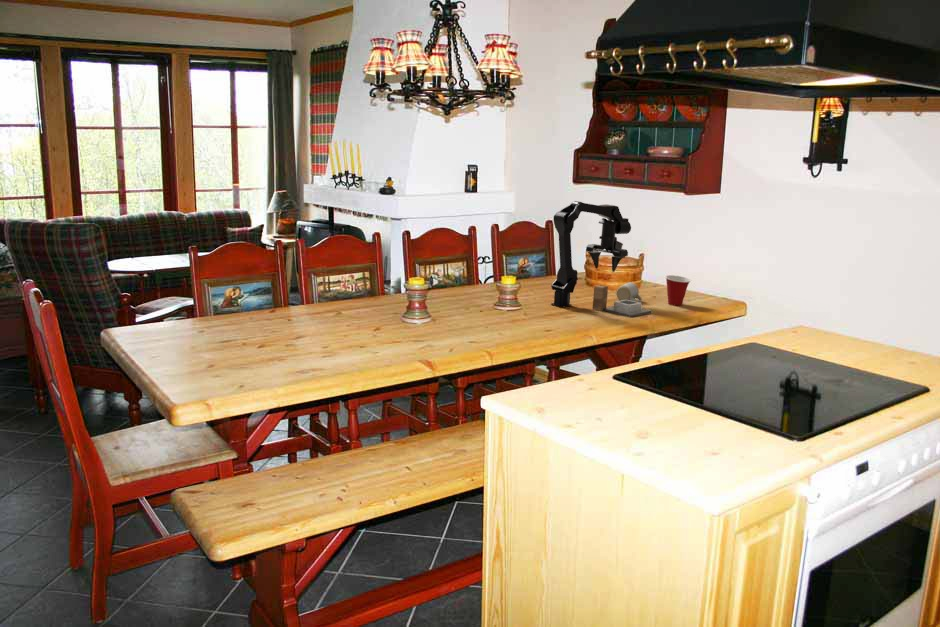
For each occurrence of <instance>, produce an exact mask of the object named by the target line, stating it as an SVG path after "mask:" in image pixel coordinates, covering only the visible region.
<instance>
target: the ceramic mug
mask: <svg viewBox="0 0 940 627" xmlns="http://www.w3.org/2000/svg"><path fill="white" fill-rule="evenodd" d="M639 293H640V291H639V288H638V286H637V285H636V284H635V283H634V282H630V281H629V282H626V283H625V284H623V285H620V286H619V287H618V288H617V290H616V293H615V294H616V298H617V299H618V301H621V300H626V299H627V300H631V301H635V302H639V303H642V300H643V299H642V297H641V296H640V295H639Z"/></svg>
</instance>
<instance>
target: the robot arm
mask: <svg viewBox="0 0 940 627" xmlns="http://www.w3.org/2000/svg"><path fill="white" fill-rule="evenodd" d="M582 212H583V213H589V214H595V215H597V216H600V217H602V218H601V219H600V220H599V221H598V224H601V225H602V226H601V227H602V228H601V235H600V236H599V237H598V238H599V239H600V244H598V243H597V244H595V243H592V244H587V245H586V247H585V248H586V249H585V252H588V254H589V255H590V258H591V259H592V262H593V266H594V268H595V269H598V268H599V262H600V255H601V253H607V254H612V255H613V256H611V271H612V273H614V272H616V269H617V268H618V266H619V263H620V262H621V260H622V259H625V257H628V256H629V251H628V250H627V249H625V248H623V246H624V244H623V243H622V242H621V241H618V238H617V236H616V235H624V234H625V235H627V234H629V233H631V231H632V225H631V223H630V222H629V218H626V217H623V215H622V213H621V212H620V208H619V206H618V205H613V204H593V203H585V202H582V201H577V200H574V201H572V202H570V203H569V205H567V206H565V207H563V208H561V209H560V210H559V211H557V212H556V213H555V214H554V215H553V220H552V221H553V223H554V224H553V225H554V229H555V230H556V231H557V235H558V248H559V249H558V250H559V269H558V270H557V273H556V278H555V280H554V281H553V282H552V283H551V290H552V291H554V294H553V295H554V299H553V303H550V305H552V306H555V307H558V308H567V307H572V306H573V304H571V303H570V302H571V294H573V293H574V290H575V288H576V285H577V284H578V280H579V278H578V270H576V269H574V267H573V262H572V259H573V257H572V238H571V237H572V236H571V234H572V231H573V229H574V227H575V226H574V224H575V221H576V220H578V219H579V216H580V214H581V213H582Z"/></svg>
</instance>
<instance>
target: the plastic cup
mask: <svg viewBox="0 0 940 627" xmlns="http://www.w3.org/2000/svg"><path fill="white" fill-rule="evenodd" d="M665 279H666V292H667V293H666V294H667V304H668V305H669V306H674V307H675V306H676V307H678V306H682V305H683V303H684V299H685V296H686V293H687V290H688V289H687V288H688V286H689V284H690V283H691V281H692V280H691V278H689V277H685V276H681V275H680V276H679V275H665Z"/></svg>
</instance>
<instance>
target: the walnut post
mask: <svg viewBox="0 0 940 627" xmlns="http://www.w3.org/2000/svg"><path fill="white" fill-rule="evenodd" d="M608 293H609V286H607V285H604V284H603V285H602V284H598V285H594V286H593V298H592V311H593V310H594V311H598V312H603V308H607V306H608V305H607V304H608Z"/></svg>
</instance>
